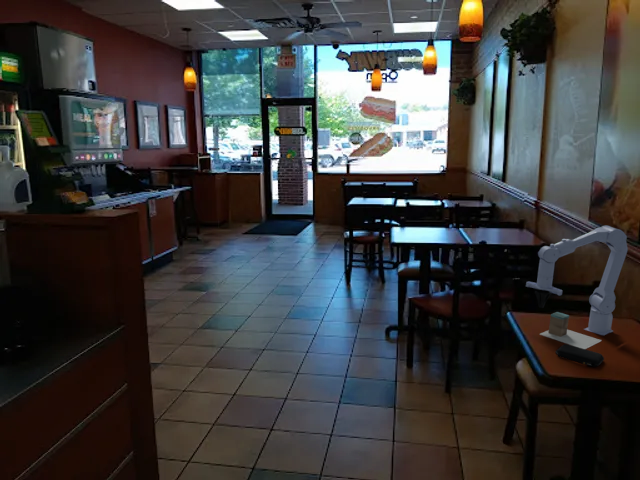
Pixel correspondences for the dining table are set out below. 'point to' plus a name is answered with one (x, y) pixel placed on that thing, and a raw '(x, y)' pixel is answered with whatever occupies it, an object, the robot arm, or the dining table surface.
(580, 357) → the carrying case or bag
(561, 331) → the teal and wood block
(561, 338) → the mat
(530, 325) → the dining table surface
